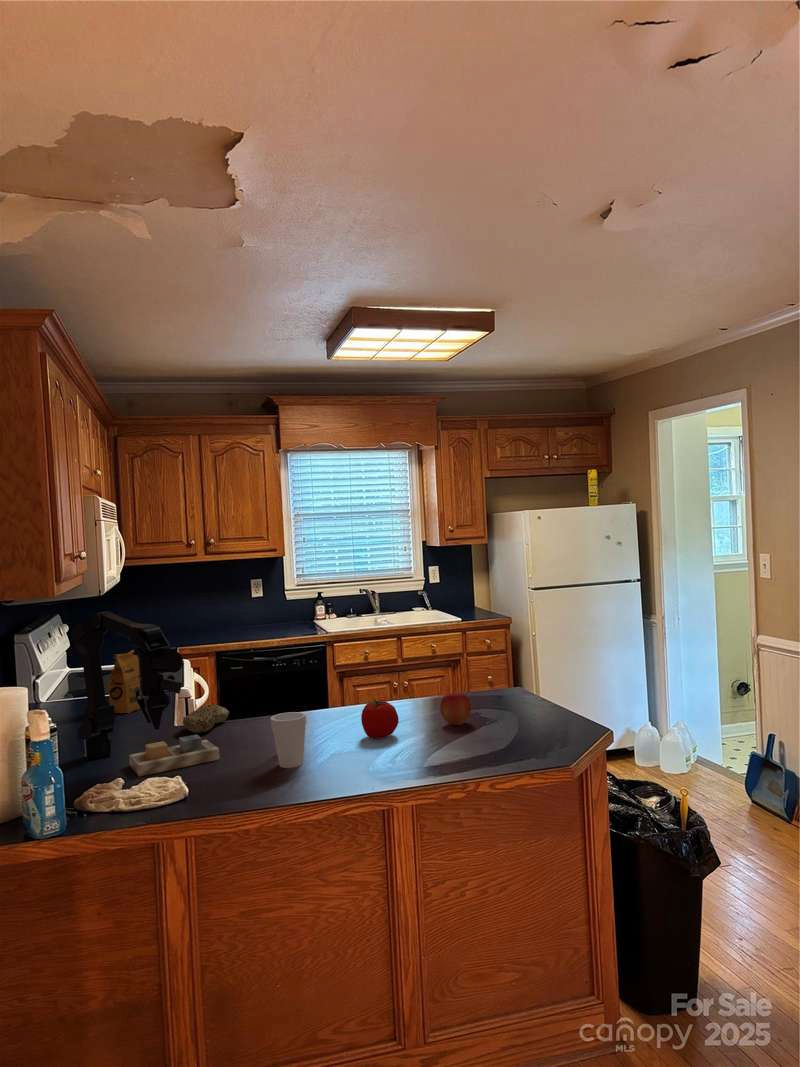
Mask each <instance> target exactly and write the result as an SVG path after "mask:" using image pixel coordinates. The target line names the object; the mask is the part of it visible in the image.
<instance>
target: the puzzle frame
mask: <svg viewBox="0 0 800 1067" xmlns="http://www.w3.org/2000/svg"><path fill="white" fill-rule="evenodd" d="M178 739H179V740H178V742H179V744H177V745H172V746H168V757H164V758H159V759H154V760H150V761H146V751H142V752H137V753H132V754H129V755H128V758H129V759H128V760H129V766H130V768H131V769H132V770H133V771H134V772H135V773H136V774H137V776H138V777H143V776H148V775H152V774H157V773H158V774H159V773H161V772H166V771H171V770H176V769H180V768H185V767H190V766H194V765H200V764H204V763H208V762H214V761H218V760H220V759H221V758H220V748H219V747H218V746H216V745H214V744H213V743H212V742H210V741H209V740H207V739H202V737H200V735H198V733H195V734H193V735H192V734H191V735H186V736H182V737H178Z"/></svg>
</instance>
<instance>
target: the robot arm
mask: <svg viewBox="0 0 800 1067" xmlns="http://www.w3.org/2000/svg"><path fill="white" fill-rule="evenodd" d="M73 628H74V629H72V631H71V636H72V640H73V644H74V648H75V649H76V650H77V651H78V652H79V653H80V655H81V661H82V667H83V675H84V682H85V684H84V685H85V690H86V697H87V704H86V707H85V709H84V711H83V722H82V724H81V725H80V727H79V728H78V730H77V731H76V732H77V733H76V734H77V737H78V740H83V743H84V756H85V757H86V758H85V757H84V756H83V757H84V758H85V760H86V759H87V760H88V761H92V760H91V759H94V760H98V759H102V758H109V757H111V756H112V755H111V753H112V748H111V744H112V743H111V738H110V737H109V734H112V733H114V728H115V727H114V726H115V723H116V718H117V714H116V713H115V707H114V705H110V704H109V702H108V701H107V699H106V692H105V684H104V683H105V682H104V676H103V668H102V660H101V652H100V651H101V649H102V647H103V645H104V642H105V640H104V639H105V638H104V636H105V634H106V633H107V632H108V631H110V632H112V633H116V634H118V635H120V636H123V637H125V638H127V639H128V642H129V643H131V645H133V646H135V647H136V649H135V650H134V652H133V655H137V657H138V661H139V675H138V679H140V686H139V687H136V688H135V689H134V697H135V698H136V699H135V700H136V702H137V704H138V705H139V707H140V711H141V713H142V715H143V717H144V719H145V721H146V723H147V724H152V728H153V729H154V730H155V731H157V730H160V727H161V721H162V716H163V712H164V710H165V709H166V708H168V707H169V706H170V705H171V697H170V696H169V695H168V694H166V693H165V692H171V693H175V694H180V693H181V690H182V688H183V684H184V683H183V682H182V681H180V680H178V679H176V678H175V675H173V674H172V675H171V674H167V676H164V674H163V673H178V672H179V671H181V669H182V668H183V664H184V658H183V657H182V654H181V653H180V652H178V651H177V649H178V648H177V647H175V646H173V647H171V645H170V643H169V641H168V639H167V638H166V636H165V634H164V633H163V631H162V630H161V627H160V626H159V625H157V624H151V623H137V622H135V621H131V620H130V619H127V618H124V617H122V616H120V615H117V614H114V612H112V611H110V610H109V611H103V612H97V613H95V614H94V615H93V616H91V617H90V618H88V619H86V620H84V621H82V622H81V623H79V624H77V625H75V626H74V627H73ZM87 760H86V761H87Z"/></svg>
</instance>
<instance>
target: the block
mask: <svg viewBox="0 0 800 1067" xmlns="http://www.w3.org/2000/svg"><path fill="white" fill-rule="evenodd" d="M168 747H169V746H168V743H166V742H165V741H164V740H163V741H158V742H153V743H146V744H145V752H146V761H150V760H154V759H159V758H164V757H168Z"/></svg>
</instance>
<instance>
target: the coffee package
mask: <svg viewBox="0 0 800 1067" xmlns="http://www.w3.org/2000/svg"><path fill="white" fill-rule="evenodd" d="M134 651H135V650H134V649H132V650H130V651H129V652H126V653H119V654H113V659H115V663H114V666H113V669H112V671H111V673H110V676H109V678H108V685H107V686H108V698H109V699H108V700H109V702H108V703H109V704H110V705H114V707H115V714H116V713H120V714H119V715H123V714H122V713H129V714H130V713H132V712H134V711H135V710H137V711H140V710H141V709H140V707H139V705H138V704H137V702H136V700H135V699H136V698H135V697H134V689H135V688H136V687H139V686H140V679H138V675H139V661H138V655H133V652H134ZM139 709H140V710H139ZM135 712H136V711H135Z"/></svg>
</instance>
